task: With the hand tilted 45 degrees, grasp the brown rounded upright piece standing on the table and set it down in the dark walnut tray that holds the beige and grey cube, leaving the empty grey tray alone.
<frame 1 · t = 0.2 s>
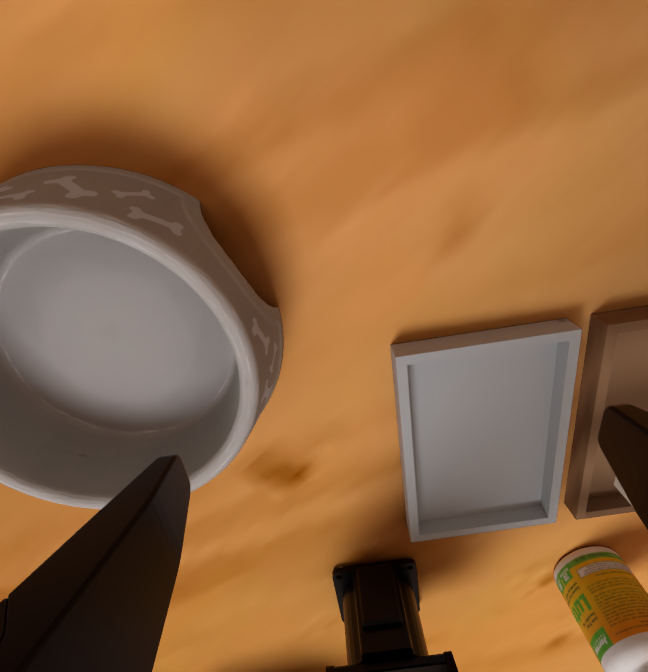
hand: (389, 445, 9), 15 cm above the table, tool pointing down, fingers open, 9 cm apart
grey tray: (476, 434, 28), on the table
dog bowl: (126, 334, 24), on the table
supplement bottle: (583, 563, 35), on the table
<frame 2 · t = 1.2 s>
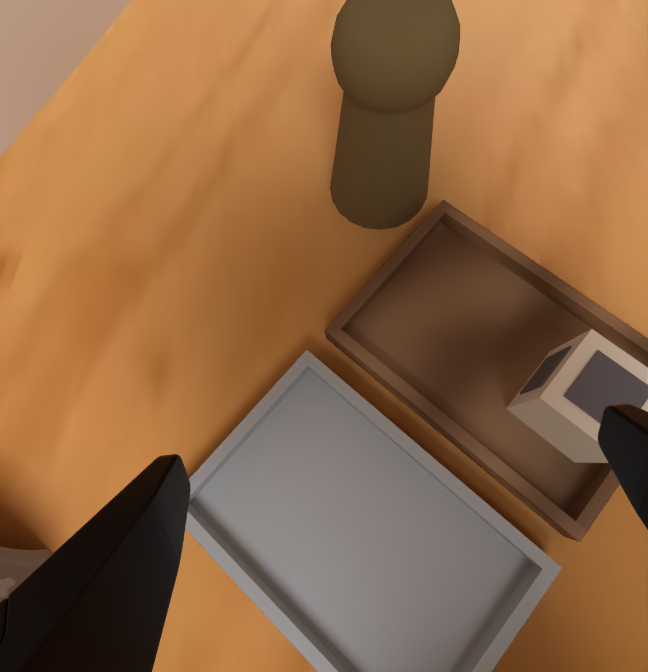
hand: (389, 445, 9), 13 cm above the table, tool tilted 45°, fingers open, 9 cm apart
beige and grey cube: (561, 404, 22), resting on walnut tray
grey tray: (354, 530, 21), on the table
walnut tray: (493, 356, 23), on the table
brown rounded upright piece: (378, 188, 26), on the table
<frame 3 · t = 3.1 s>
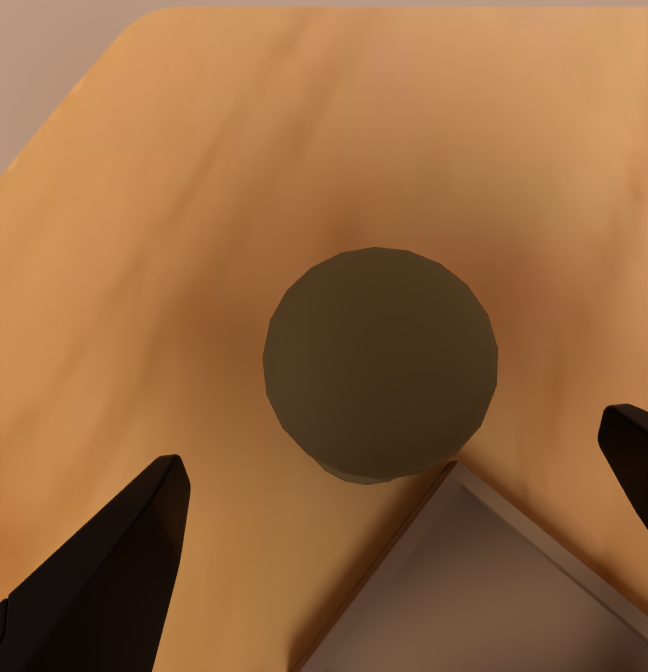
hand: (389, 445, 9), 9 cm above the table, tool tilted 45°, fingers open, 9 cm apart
brown rounded upright piece: (365, 412, 19), on the table
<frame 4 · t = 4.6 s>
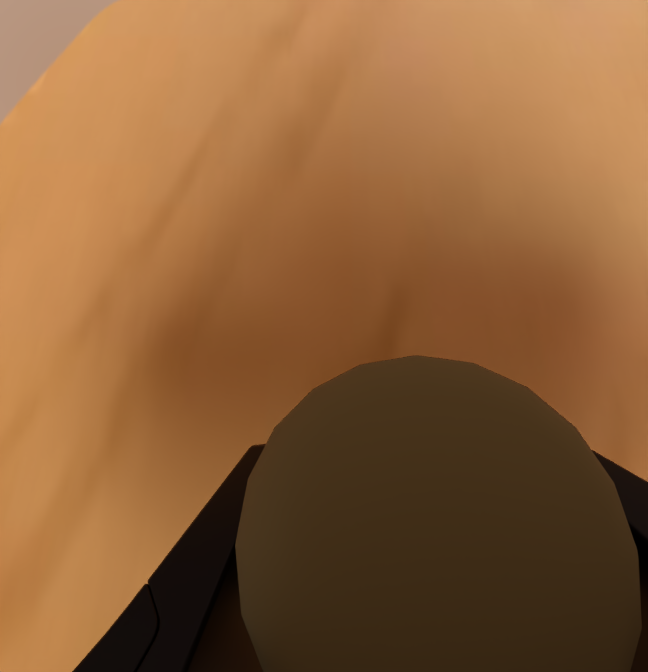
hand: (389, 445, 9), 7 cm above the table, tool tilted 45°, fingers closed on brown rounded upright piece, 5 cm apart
brown rounded upright piece: (379, 494, 15), on the table, touching gripper
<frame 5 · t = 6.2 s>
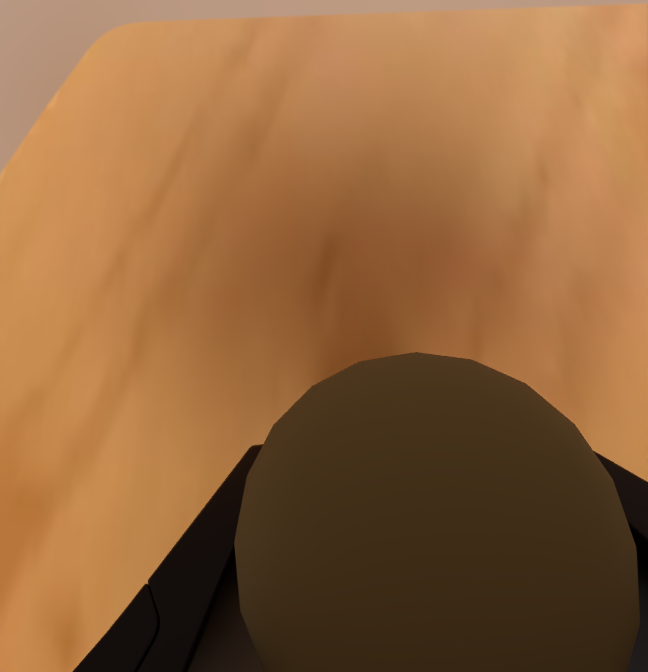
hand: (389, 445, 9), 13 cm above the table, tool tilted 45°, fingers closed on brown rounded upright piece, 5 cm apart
brown rounded upright piece: (379, 492, 15), point 6 cm above the table, touching gripper
when the fingers open (8 cm above the table, at t = 8.1 s): brown rounded upright piece drops 1 cm, resting on walnut tray.
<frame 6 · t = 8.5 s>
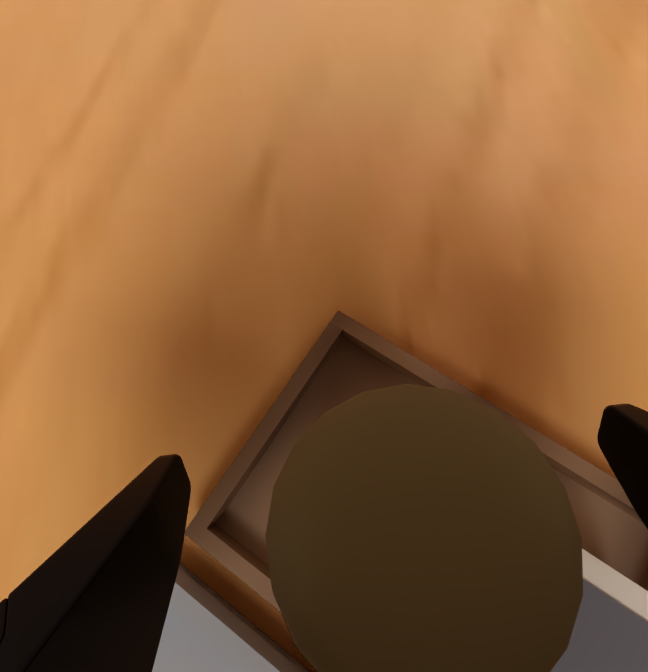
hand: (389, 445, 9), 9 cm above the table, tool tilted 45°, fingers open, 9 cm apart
beige and grey cube: (533, 600, 15), resting on walnut tray
walnut tray: (431, 529, 16), on the table
brown rounded upright piece: (380, 495, 17), resting on walnut tray
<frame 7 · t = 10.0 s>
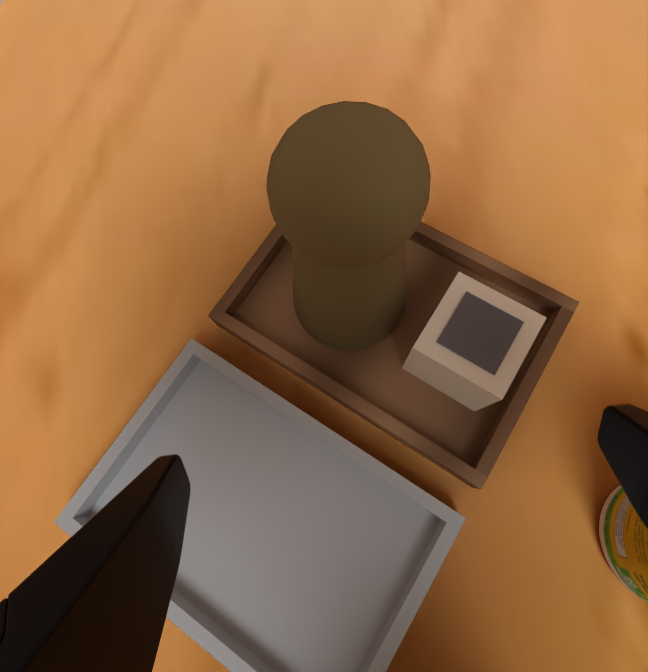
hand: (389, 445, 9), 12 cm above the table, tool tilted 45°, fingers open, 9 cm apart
beige and grey cube: (456, 355, 21), resting on walnut tray
grey tray: (261, 516, 20), on the table
walnut tray: (386, 318, 22), on the table
brown rounded upright piece: (349, 297, 23), resting on walnut tray
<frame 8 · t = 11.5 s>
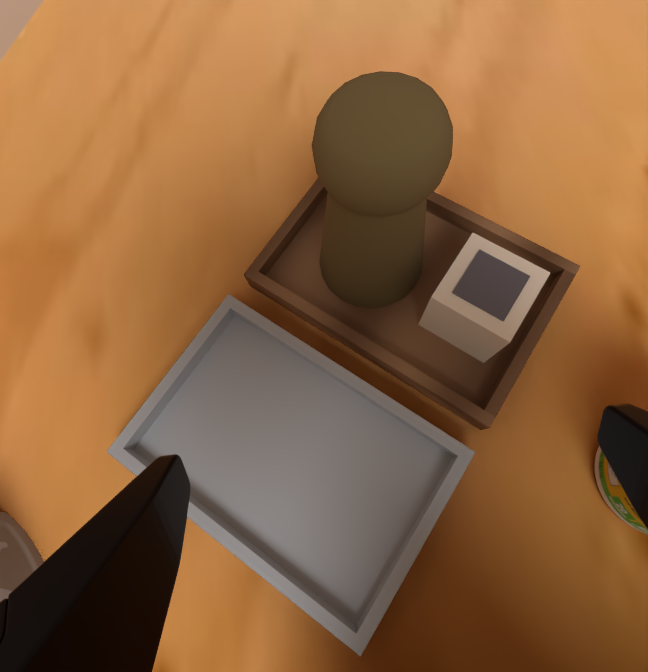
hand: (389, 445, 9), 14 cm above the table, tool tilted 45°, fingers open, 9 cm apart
beige and grey cube: (468, 314, 23), resting on walnut tray
grey tray: (290, 452, 22), on the table
walnut tray: (404, 281, 25), on the table
brown rounded upright piece: (370, 261, 25), resting on walnut tray
supplement bottle: (645, 476, 21), on the table
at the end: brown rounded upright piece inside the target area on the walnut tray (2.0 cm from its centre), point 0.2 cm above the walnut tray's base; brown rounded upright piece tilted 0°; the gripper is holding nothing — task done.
